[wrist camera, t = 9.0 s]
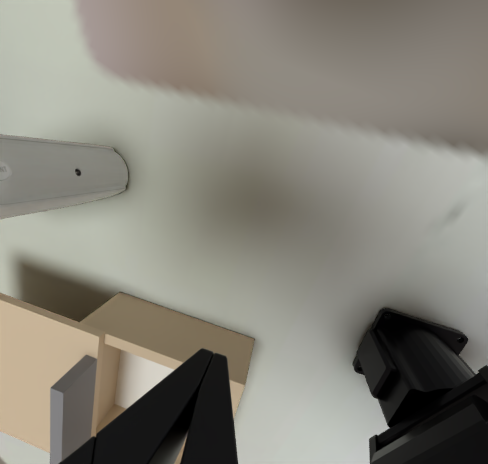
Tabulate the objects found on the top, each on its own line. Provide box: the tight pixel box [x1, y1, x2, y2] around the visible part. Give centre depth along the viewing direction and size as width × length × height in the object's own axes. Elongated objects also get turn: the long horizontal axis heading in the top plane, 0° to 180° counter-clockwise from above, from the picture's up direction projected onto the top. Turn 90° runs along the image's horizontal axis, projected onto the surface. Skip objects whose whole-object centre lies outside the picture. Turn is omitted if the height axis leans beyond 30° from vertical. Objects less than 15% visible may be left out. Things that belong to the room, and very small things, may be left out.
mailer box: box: [80, 292, 254, 464], centre depth 23 cm, size 14×16×5 cm
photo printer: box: [0, 135, 128, 219], centre depth 16 cm, size 10×4×12 cm, turn 102°
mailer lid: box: [0, 293, 105, 464], centre depth 20 cm, size 14×16×4 cm
